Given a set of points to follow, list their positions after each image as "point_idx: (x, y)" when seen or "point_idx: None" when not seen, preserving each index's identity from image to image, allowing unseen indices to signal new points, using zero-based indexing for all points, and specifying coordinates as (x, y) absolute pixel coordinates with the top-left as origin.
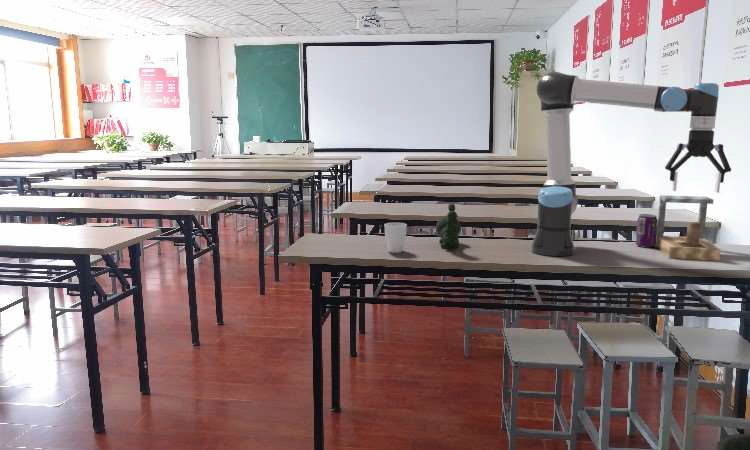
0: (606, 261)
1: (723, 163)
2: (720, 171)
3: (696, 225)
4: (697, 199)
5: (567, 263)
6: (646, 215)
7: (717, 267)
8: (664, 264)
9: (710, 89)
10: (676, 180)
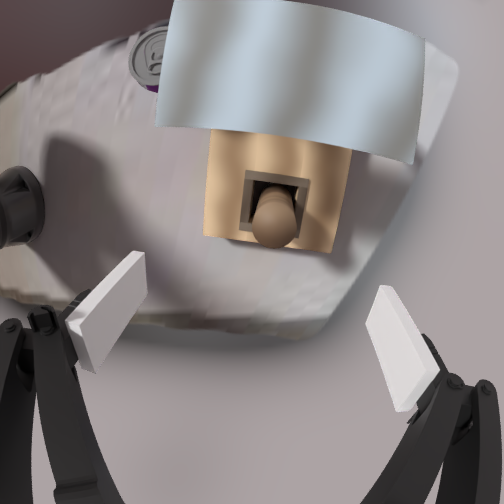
0: (89, 268)
1: (456, 456)
2: (411, 420)
3: (274, 246)
4: (334, 144)
5: (48, 285)
6: (160, 38)
7: (287, 302)
8: (184, 286)
9: None
10: (118, 333)
